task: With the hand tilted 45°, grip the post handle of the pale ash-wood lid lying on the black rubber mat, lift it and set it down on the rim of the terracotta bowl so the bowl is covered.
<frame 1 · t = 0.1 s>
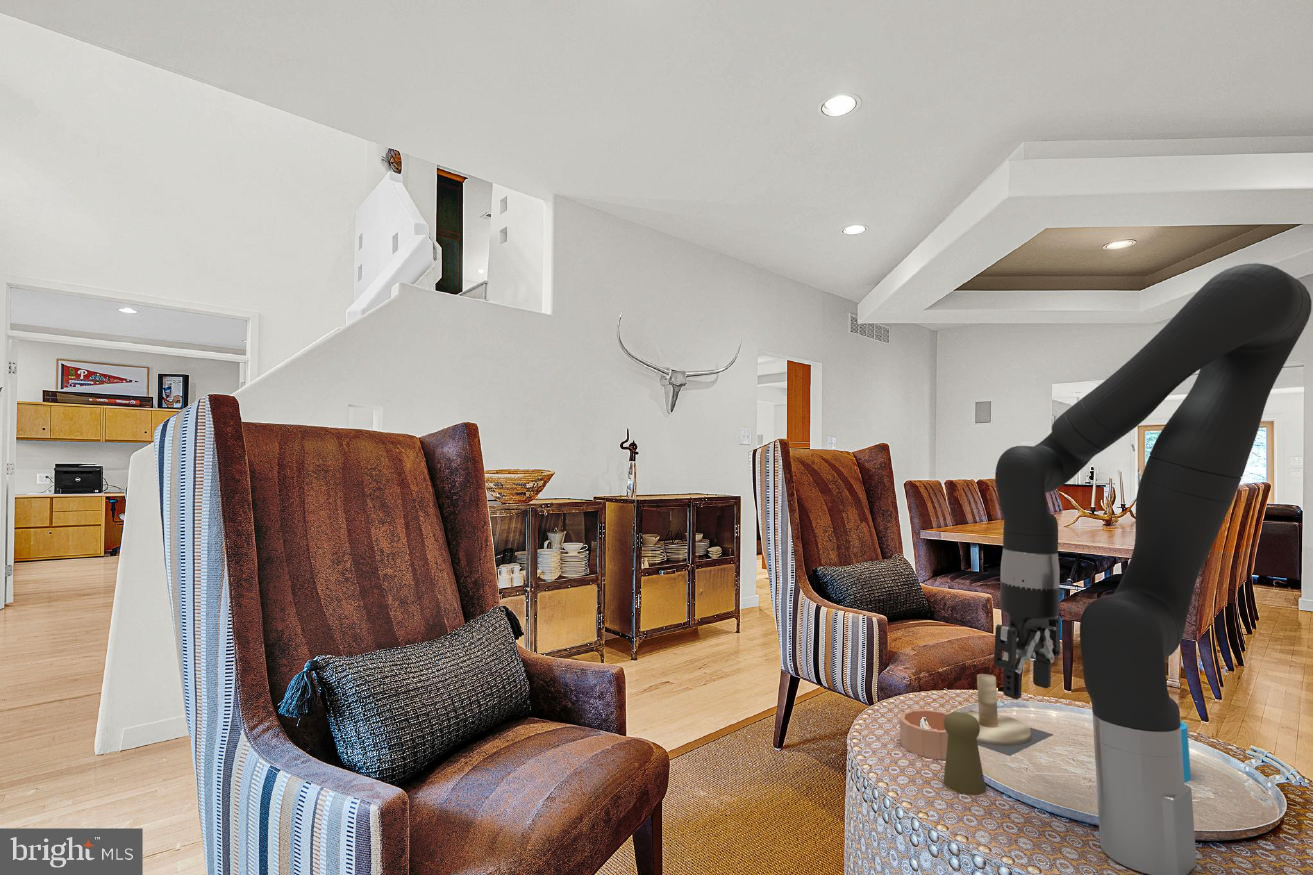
hand: (1027, 691, 94), 17 cm above the table, tool pointing down, fingers open, 8 cm apart
bowl: (933, 748, 116), on the table
olive pawn: (964, 786, 102), on the table
lid: (988, 730, 123), resting on mat
mug: (1144, 769, 107), on the table
mat: (989, 732, 123), on the table
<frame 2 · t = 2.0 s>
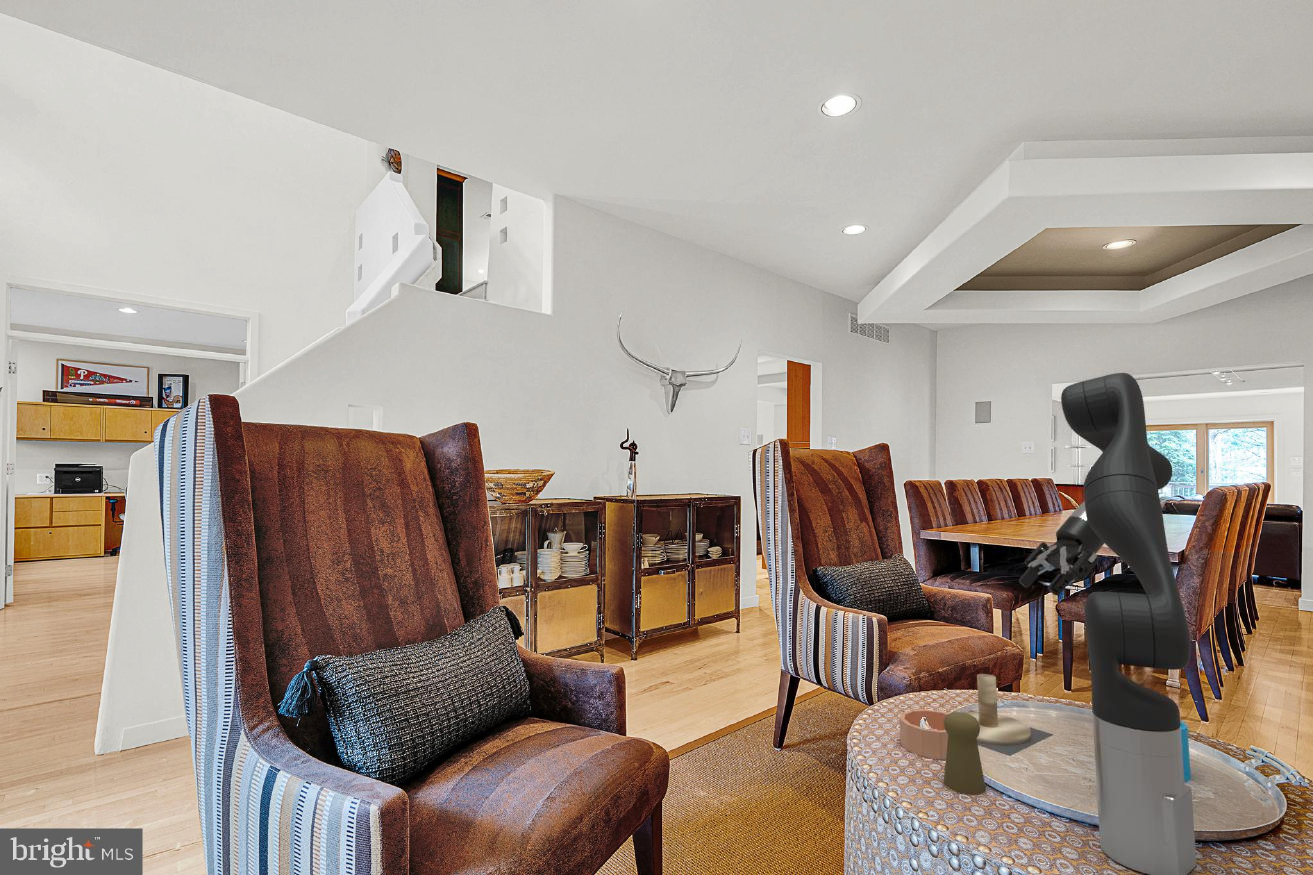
hand: (1036, 588, 126), 27 cm above the table, tool tilted 45°, fingers open, 8 cm apart
nothing on the table moved.
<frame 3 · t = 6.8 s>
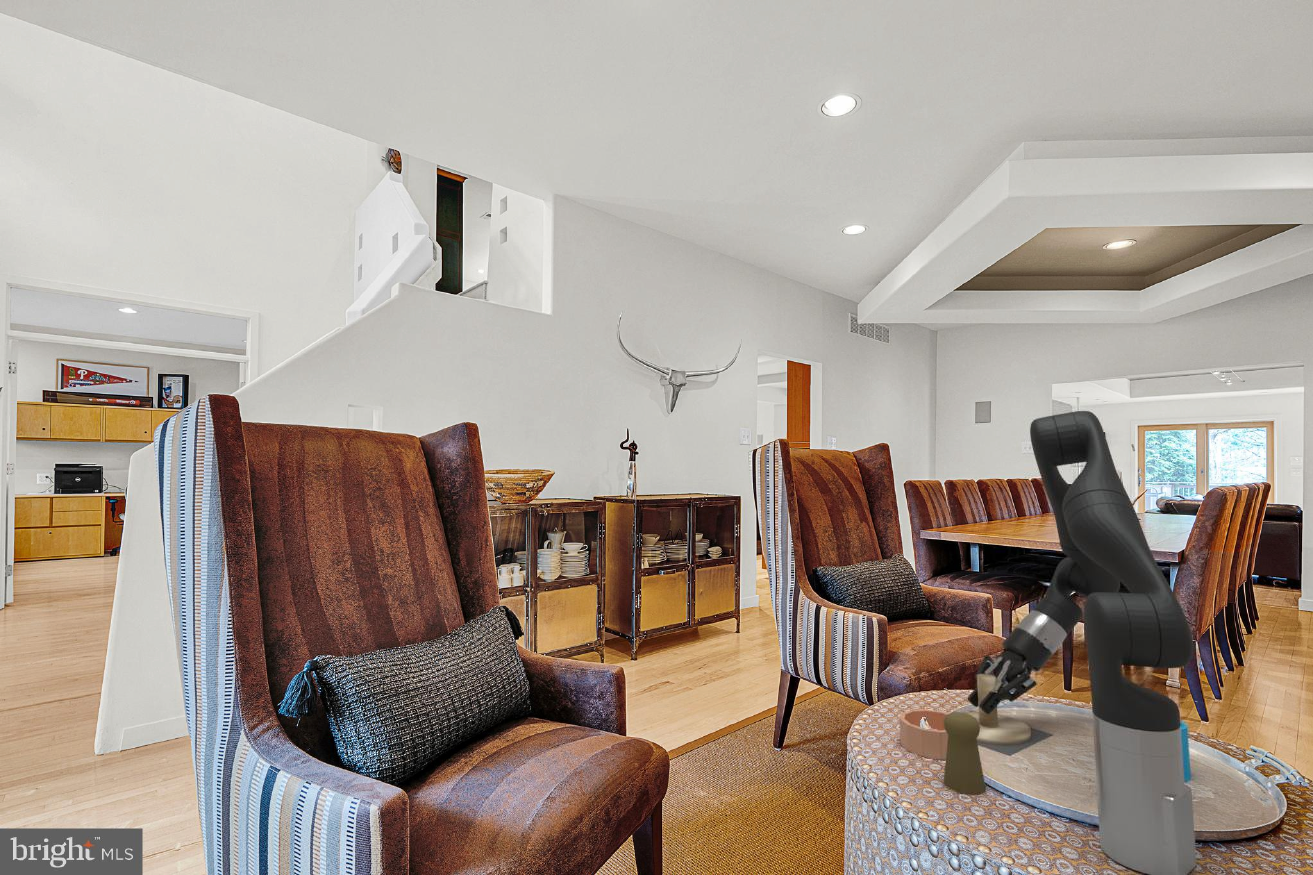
hand: (977, 706, 123), 5 cm above the table, tool tilted 45°, fingers closed on lid, 3 cm apart
lid: (988, 730, 123), resting on mat, touching gripper
everything else where it was.
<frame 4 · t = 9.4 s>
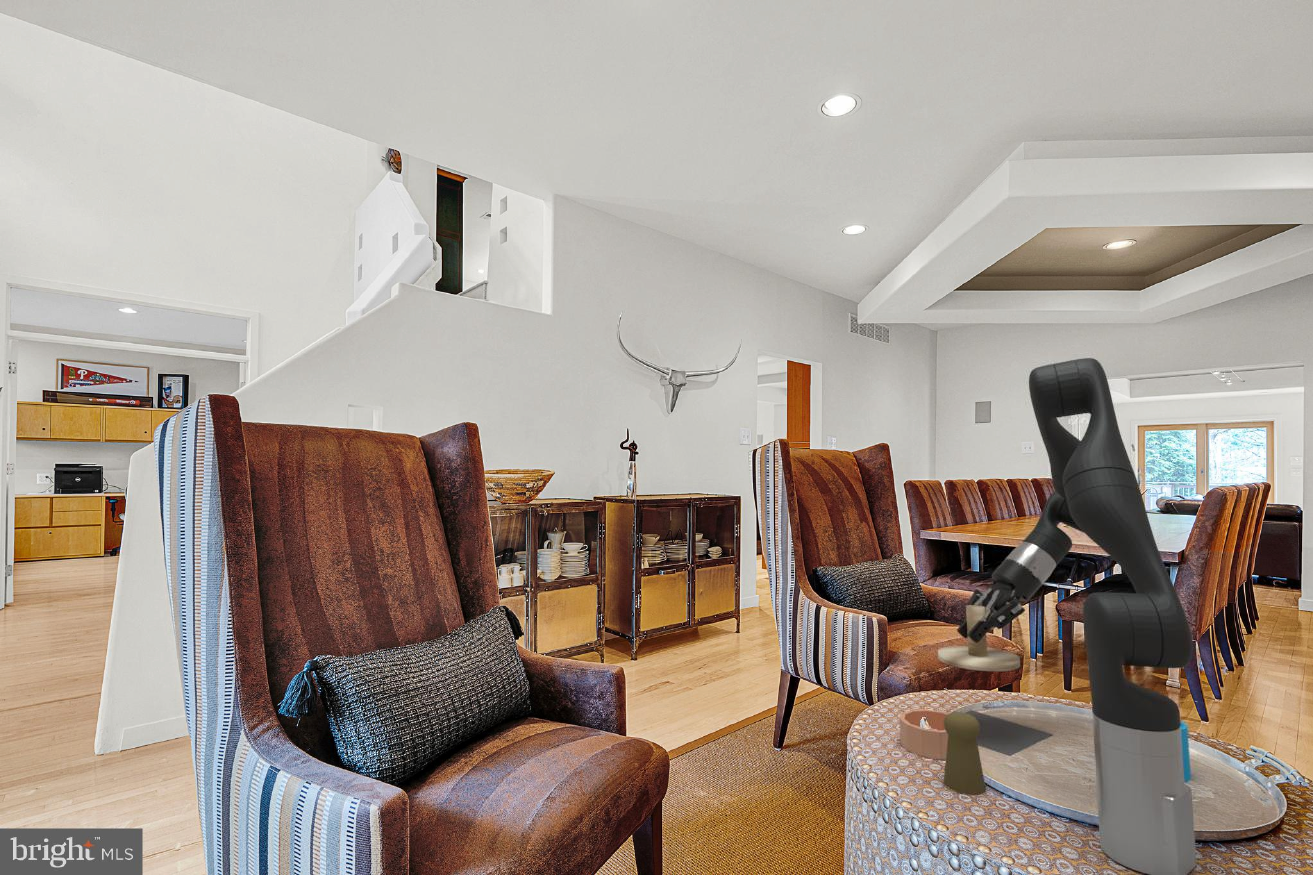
hand: (966, 636, 123), 18 cm above the table, tool tilted 45°, fingers closed on lid, 3 cm apart
lid: (978, 660, 123), point 14 cm above the table, touching gripper
everything else where it was.
when the fingers open (11 cm above the table, at t = 11.9 s): lid drops 1 cm, resting on bowl.
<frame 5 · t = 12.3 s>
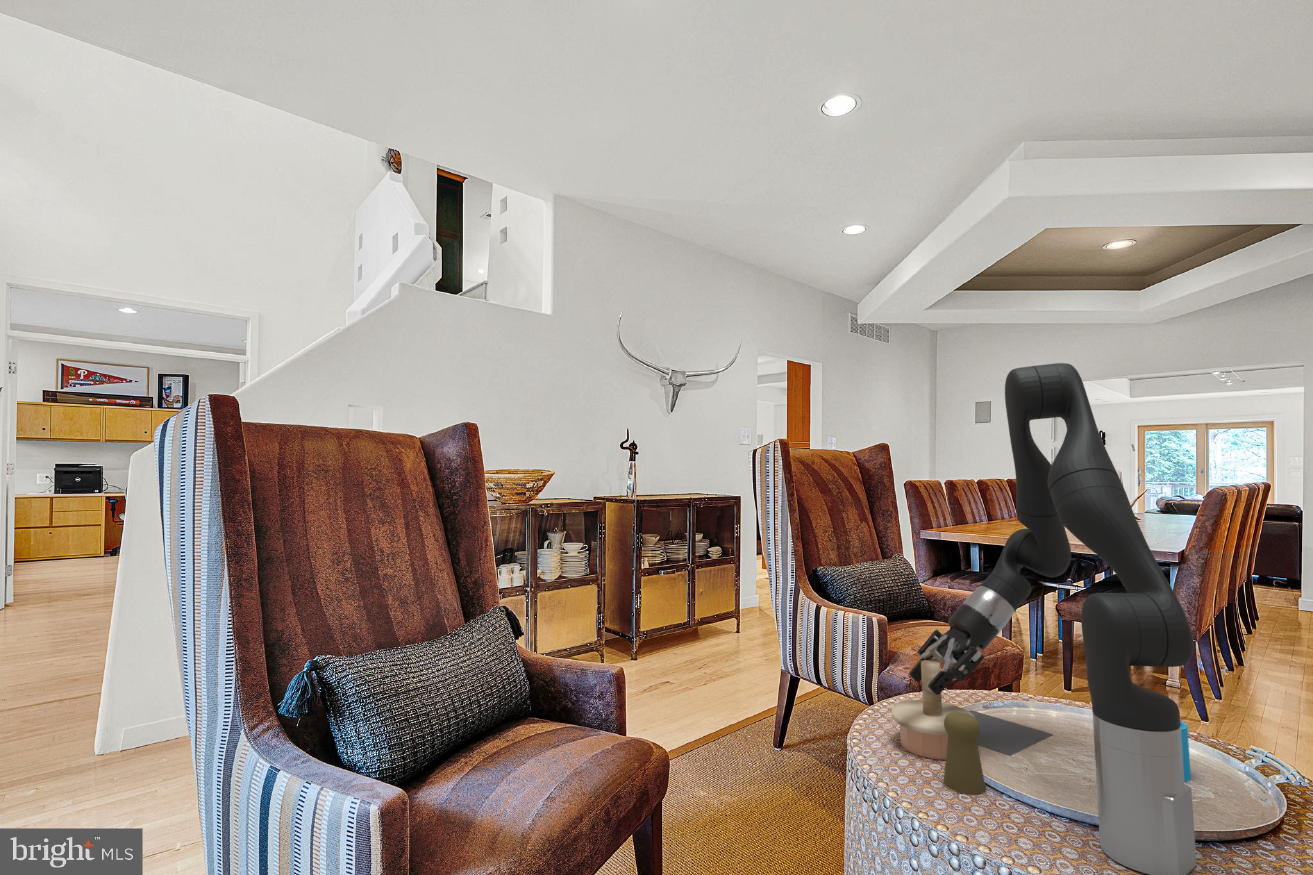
hand: (922, 684, 117), 11 cm above the table, tool tilted 45°, fingers open, 6 cm apart
lid: (932, 720, 117), point 5 cm above the table, touching bowl
everything else where it was.
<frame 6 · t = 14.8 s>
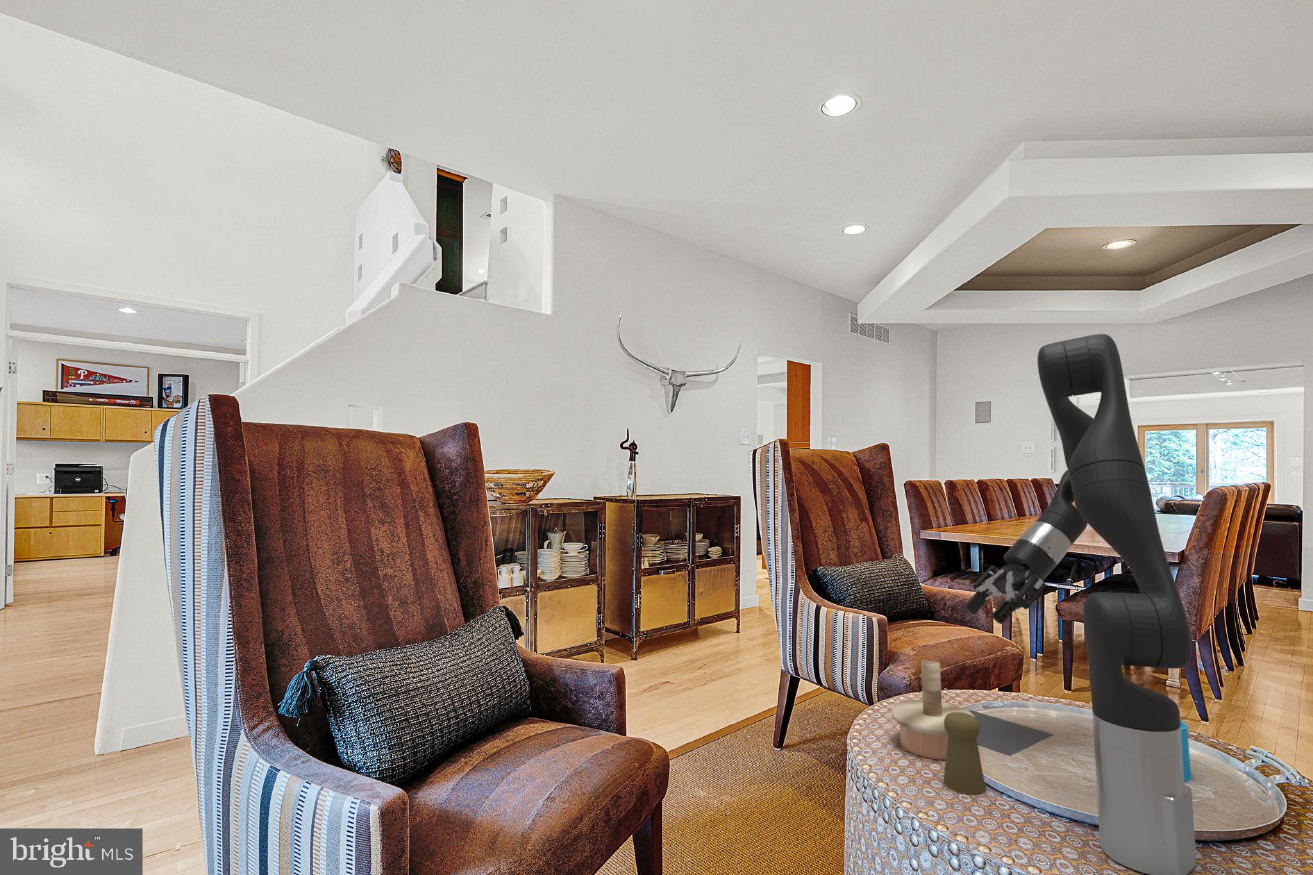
hand: (982, 615, 119), 23 cm above the table, tool tilted 45°, fingers open, 8 cm apart
nothing on the table moved.
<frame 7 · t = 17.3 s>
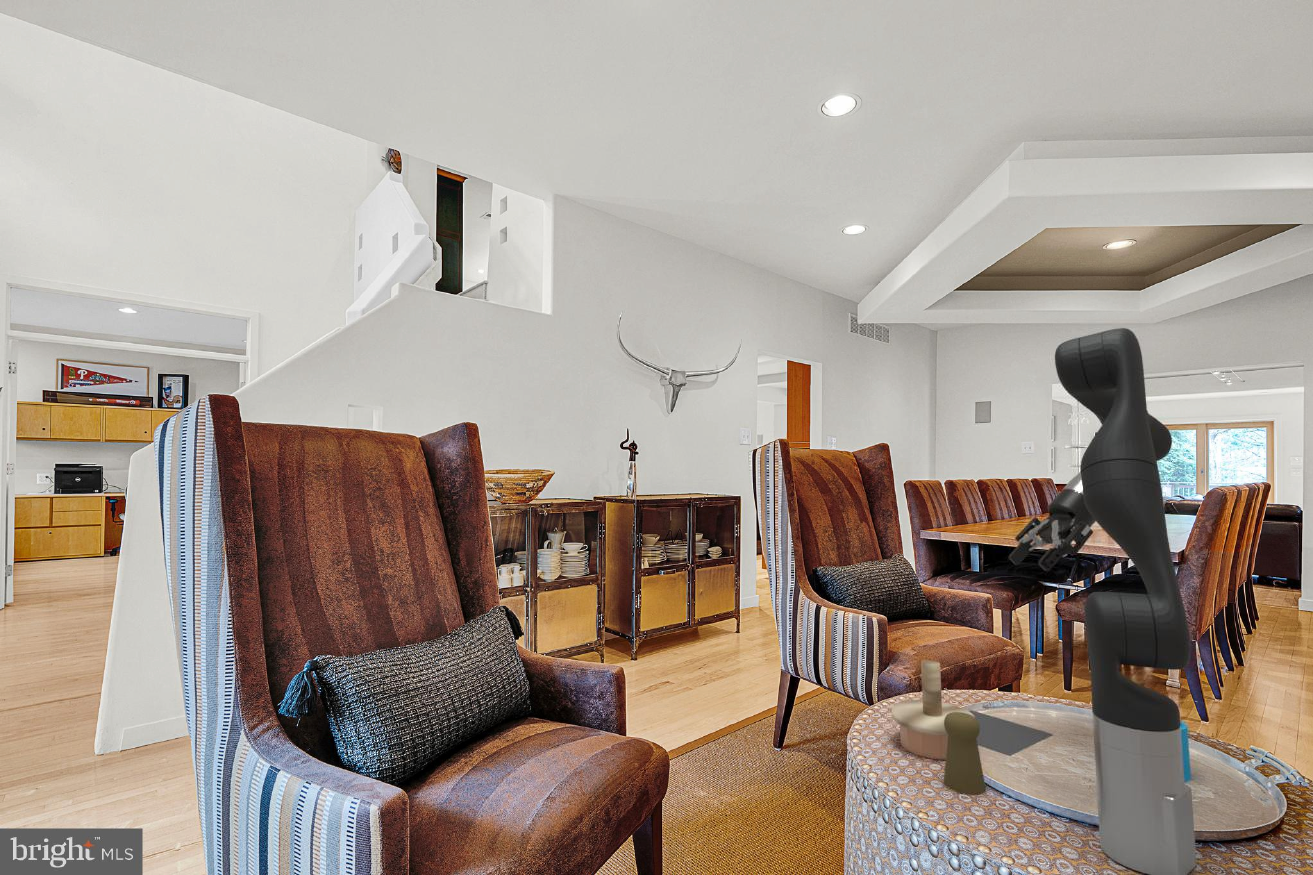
hand: (1027, 564, 119), 33 cm above the table, tool tilted 45°, fingers open, 8 cm apart
nothing on the table moved.
at the end: lid 0.1 cm from the bowl (horizontally); lid point 5.0 cm above the table; lid tilted 0° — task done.
